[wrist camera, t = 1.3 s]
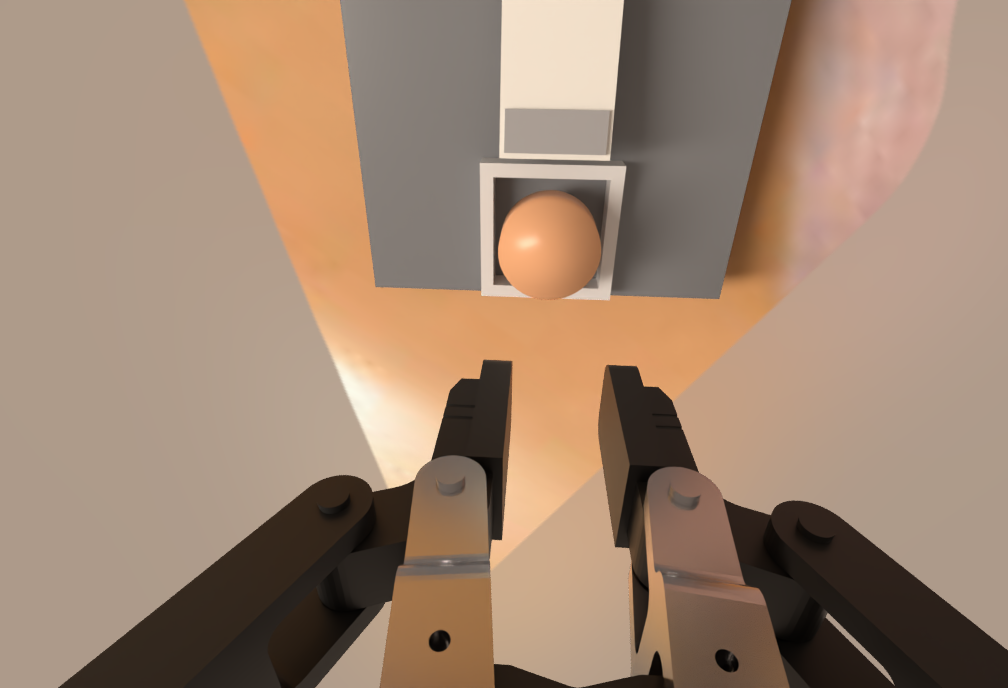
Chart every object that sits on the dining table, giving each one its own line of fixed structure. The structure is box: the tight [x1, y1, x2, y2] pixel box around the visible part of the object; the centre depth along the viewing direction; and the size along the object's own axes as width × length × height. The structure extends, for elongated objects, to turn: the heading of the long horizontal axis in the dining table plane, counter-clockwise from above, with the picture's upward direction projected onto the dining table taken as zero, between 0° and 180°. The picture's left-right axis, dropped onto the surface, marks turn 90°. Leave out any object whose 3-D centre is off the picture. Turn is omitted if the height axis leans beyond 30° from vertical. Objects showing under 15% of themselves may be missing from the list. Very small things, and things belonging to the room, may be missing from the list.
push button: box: [498, 190, 601, 300], centre depth 23 cm, size 4×4×2 cm
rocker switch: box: [499, 0, 624, 161], centre depth 20 cm, size 4×7×1 cm, turn 179°
